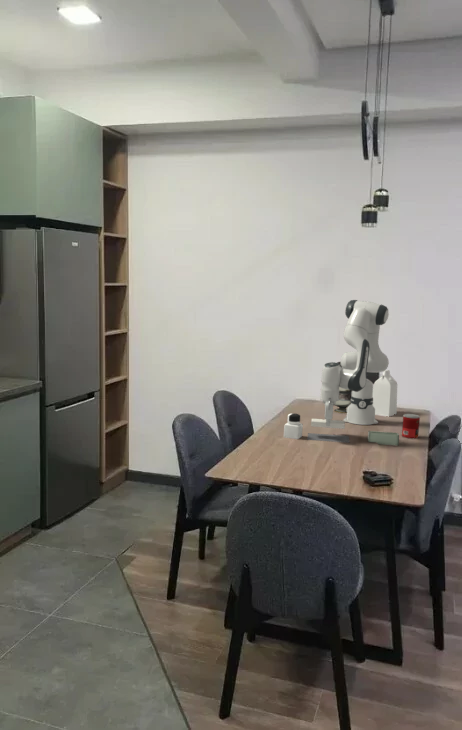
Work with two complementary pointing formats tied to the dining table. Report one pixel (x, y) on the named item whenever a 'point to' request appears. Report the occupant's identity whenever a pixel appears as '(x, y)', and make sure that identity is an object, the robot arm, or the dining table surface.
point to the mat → (328, 437)
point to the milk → (385, 395)
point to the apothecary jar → (343, 400)
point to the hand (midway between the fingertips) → (328, 424)
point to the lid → (332, 423)
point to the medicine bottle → (293, 427)
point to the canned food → (410, 425)
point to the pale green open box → (383, 437)
